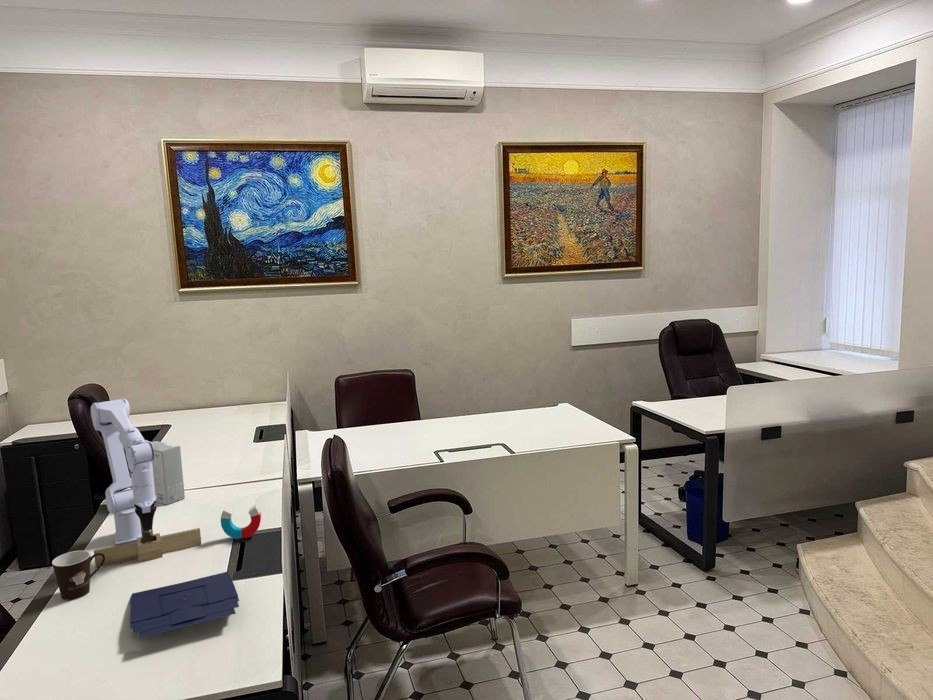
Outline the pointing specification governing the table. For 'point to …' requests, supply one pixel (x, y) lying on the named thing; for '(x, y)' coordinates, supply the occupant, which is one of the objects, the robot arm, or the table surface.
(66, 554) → the coffee mug
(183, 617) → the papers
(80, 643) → the table surface
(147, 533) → the pin
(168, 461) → the hard drive box
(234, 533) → the magnet
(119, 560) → the tan wooden bar
